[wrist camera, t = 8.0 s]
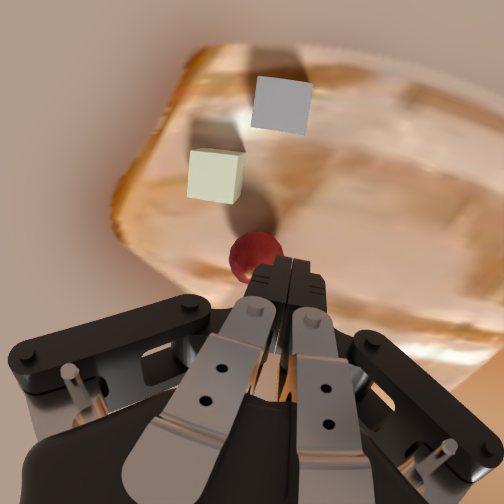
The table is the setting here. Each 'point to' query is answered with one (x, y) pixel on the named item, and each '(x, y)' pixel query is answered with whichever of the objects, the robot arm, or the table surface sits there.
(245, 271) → the onion
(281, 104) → the slate block
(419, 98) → the table surface
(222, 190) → the sage block
